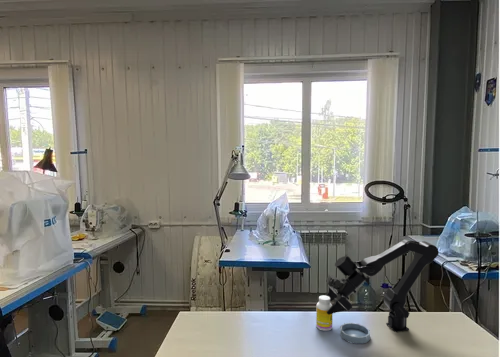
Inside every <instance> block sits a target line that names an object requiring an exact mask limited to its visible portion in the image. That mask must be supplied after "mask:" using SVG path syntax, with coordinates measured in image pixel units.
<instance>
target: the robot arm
mask: <svg viewBox="0 0 500 357" xmlns="http://www.w3.org/2000/svg"><path fill="white" fill-rule="evenodd" d="M408 252H414V255H413V260H411V263H410V264H409V265H408V267H407V268H406V270H405V272H404V273H403V275H402V277H400V280H399V281H398V283H397V284H396V285H395V287H393V288H390V287H388V288H387V289H386V292H385V293H384V294H383V296H384V297H383V303H384V304H385V306H387V308H388V310H390V311H389V312H388V316H387V322H386V324H385V325H386V326H388V327H389V328H390V329H391V330H393V331H394V332H405V331H409V330H410V328H409V327H408V326H407V320H408V318H409V316H410V312H409V311H408V310H407V309H406V308H405V305H406V303H407V296H408V293H409V292H410V290H411V289H412V287H413V286H414V284H415V283H416V281H417V280H418V278H419V276H420V274H421V273H422V272H423V270H424V269H425V267H426V266H427V265H429V264H431V263H432V262H433V261H434V260H435V259H436V258H438V256H439V253H440V252H439V249H438V247H437V246H436V245H434V244H432V243H430V242H428V241H425V240H424V241H416V240H411V239H407V238H405V239H404V238H403V239H402V240H401V241H400V242H398V243H396V244H394V245H392V246H391V247H389V248H388V249H386V250H384V251H382V252H381V253H379V254H377V255H370V256H368V257H365V258H362V259H361V260H357V261H353V260H352V259H351V258H350V257H349V256H348V254H345V255H344V256H342V257H339V258H338V259H337V260H336V261H335V262H334V266H335V267H336V269H338V271H339V272H340V273H341V274H342V275H343V276H344V277H346V278H344V277H342V278H341V279H339V278H338V277H336V276H334V275H331V274H328V277H327V278H326V283H327V292H326V294H325V296H329V297H330V302H331V301H333V300H334V302H333V304H332V306H331V307H330V309H329V310H328V311H327V314H328V315H329V314H332V315H333V314H336V313H340V312H347V311H348V312H350V311H351V310H352V309H353V304H352V303H351V301H350V296H351V295H352V294H353V293H354V294H356V293H357V289H358V288H360V287H361V285H363V284H364V283H366V284H368V285H370V284H371V280H370V279H371V277H374V276H376V275H377V274H378V273H380V272H381V271H382V270H383V268H384V267H385V266H386V265H388V264H389V263H390V262H392V261H394V260H396V259H398V258H399V257H401V256H403V255H405V254H407V253H408Z"/></svg>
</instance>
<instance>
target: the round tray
mask: <svg viewBox="0 0 500 357" xmlns="http://www.w3.org/2000/svg"><path fill="white" fill-rule="evenodd" d="M339 332H340V333H339V335H340V336H341V339H342V340H345V341H346V342H349V343H351V344H357V345H358V344H367V343H369V341H370V340H371V339H370V338H371V332H370V329H369V328H368V327H367V326H365V325H363V324H360V323H356V322H346V323H345V322H344V323H343V324H341V325H340V330H339Z"/></svg>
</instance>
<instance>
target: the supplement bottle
mask: <svg viewBox="0 0 500 357" xmlns="http://www.w3.org/2000/svg"><path fill="white" fill-rule="evenodd" d="M332 305H333V304H332V303H331V301H330V297H329V296H326V294H325V295H323V294H322V295H319V296H318V302H317V303H316V308H315V309H316V313H315V314H316V317H315V318H316V319H315V320H316V322H315V323H316V324H315V326H316V328H317V329H318V330H320V331H324V332H326V331H331V330H332V329H333V314H329V315H328V314H327V311H328V310H329V309H330V307H331V306H332Z"/></svg>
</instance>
